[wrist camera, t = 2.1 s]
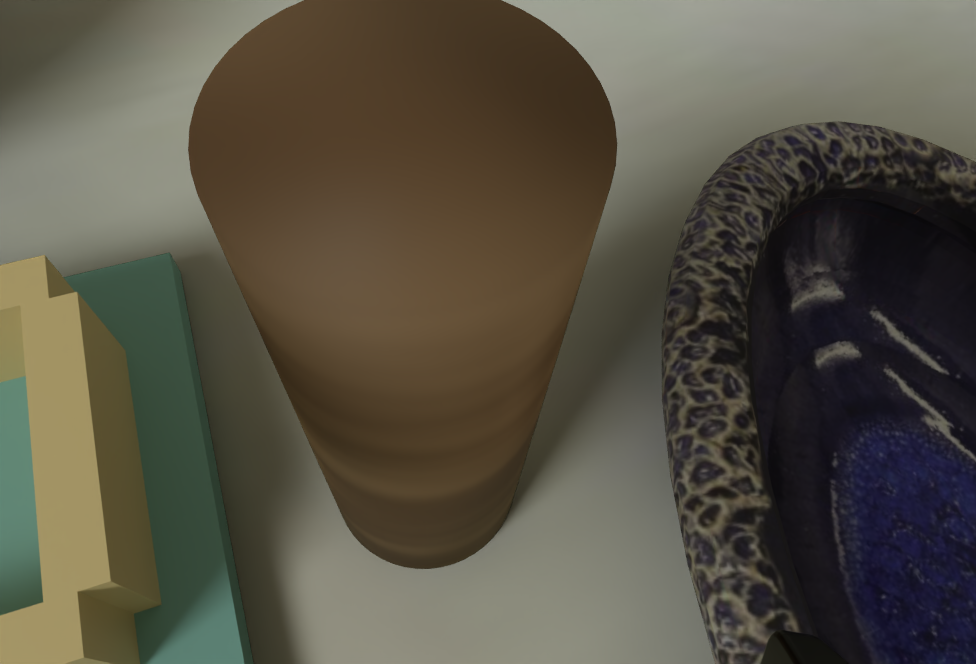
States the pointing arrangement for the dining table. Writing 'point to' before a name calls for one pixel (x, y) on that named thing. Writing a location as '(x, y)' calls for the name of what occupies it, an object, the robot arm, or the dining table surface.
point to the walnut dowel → (408, 243)
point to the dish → (828, 396)
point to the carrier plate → (109, 475)
